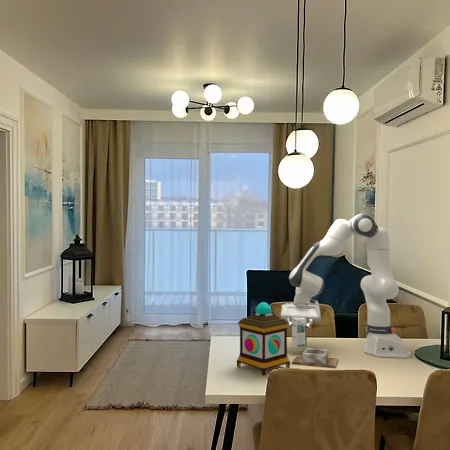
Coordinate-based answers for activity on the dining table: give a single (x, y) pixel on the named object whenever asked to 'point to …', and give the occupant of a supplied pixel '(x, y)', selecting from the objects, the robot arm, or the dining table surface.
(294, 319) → the syrup box
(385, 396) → the dining table surface
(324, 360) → the collar base
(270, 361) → the decorative lantern
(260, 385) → the dining table surface
